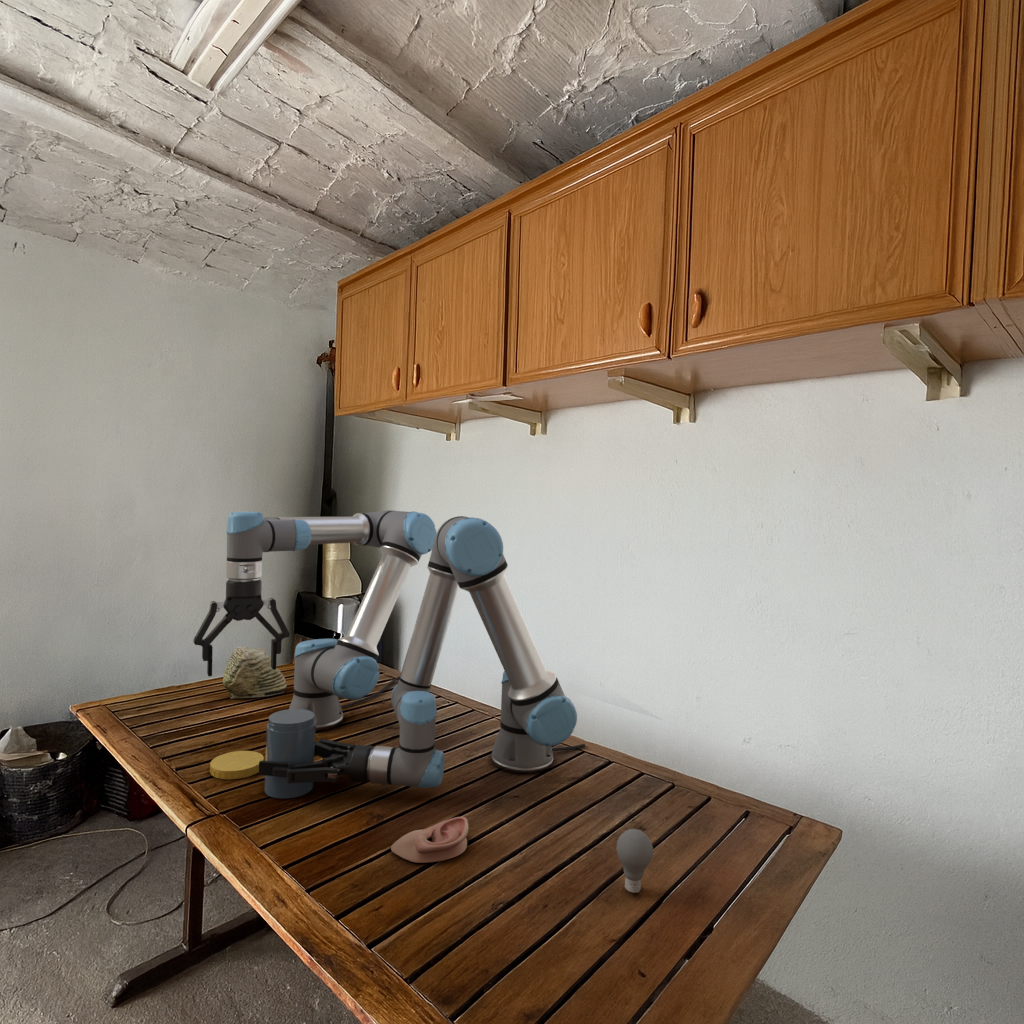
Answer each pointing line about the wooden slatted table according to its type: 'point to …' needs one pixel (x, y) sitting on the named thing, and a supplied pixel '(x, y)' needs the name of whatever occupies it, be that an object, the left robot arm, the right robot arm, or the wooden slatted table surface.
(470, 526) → the right robot arm
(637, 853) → the light bulb
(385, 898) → the wooden slatted table surface
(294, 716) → the jar
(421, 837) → the anatomical model
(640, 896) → the wooden slatted table surface
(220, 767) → the lid
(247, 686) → the fossil
